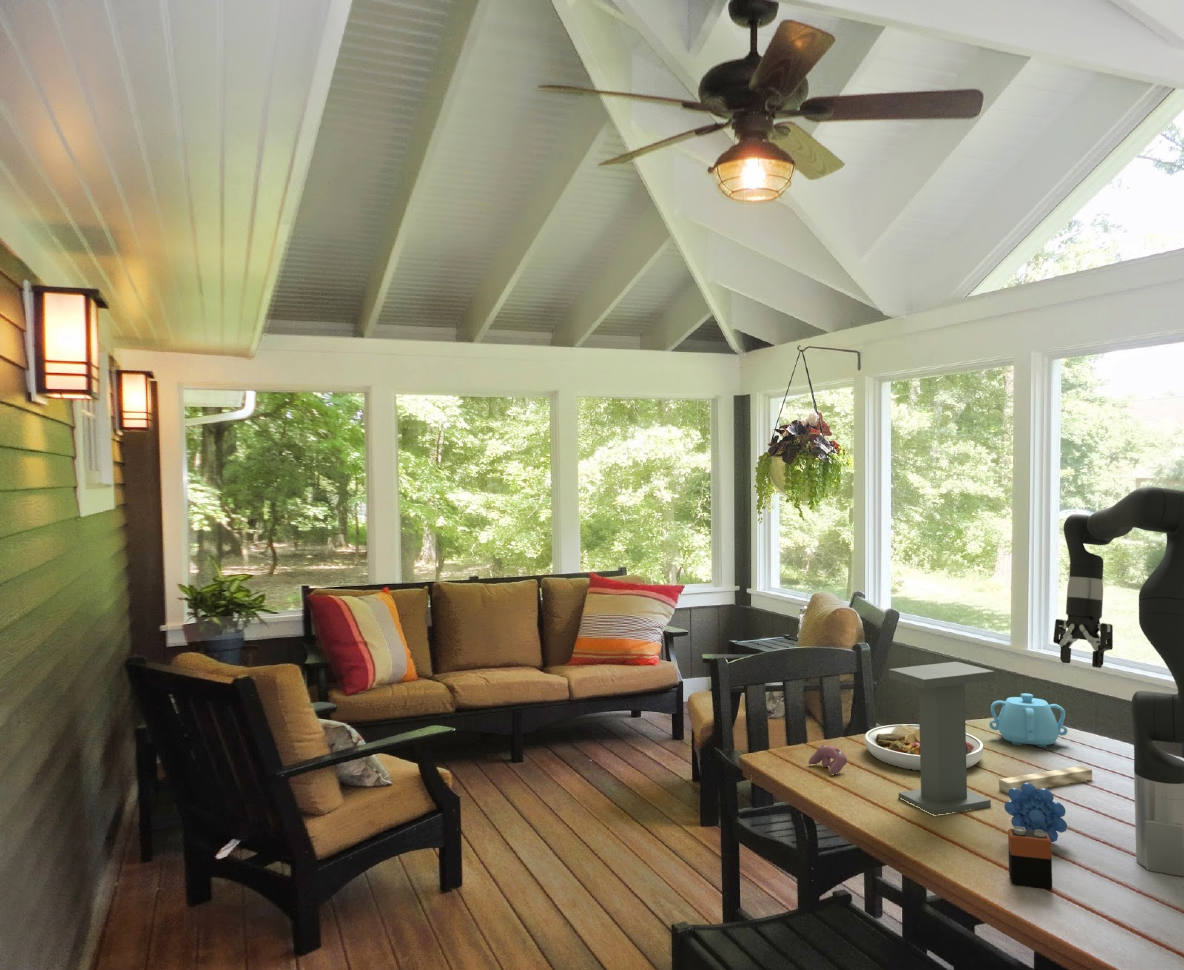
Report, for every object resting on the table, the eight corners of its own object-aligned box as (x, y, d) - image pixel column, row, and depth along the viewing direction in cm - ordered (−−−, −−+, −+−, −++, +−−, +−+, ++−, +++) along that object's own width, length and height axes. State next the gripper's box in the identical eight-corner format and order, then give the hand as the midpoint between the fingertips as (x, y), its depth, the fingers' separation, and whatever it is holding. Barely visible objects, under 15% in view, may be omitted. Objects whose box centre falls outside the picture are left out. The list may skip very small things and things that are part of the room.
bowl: (842, 752, 240) (841, 724, 240) (918, 735, 254) (917, 709, 254) (928, 784, 213) (927, 752, 213) (1008, 763, 227) (1007, 734, 227)
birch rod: (1081, 777, 215) (1081, 765, 215) (1092, 781, 213) (1092, 769, 213) (999, 791, 207) (998, 779, 207) (1008, 795, 204) (1008, 783, 204)
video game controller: (843, 780, 221) (852, 754, 222) (830, 775, 219) (839, 748, 220) (818, 769, 230) (827, 744, 231) (806, 764, 228) (815, 738, 229)
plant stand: (959, 788, 209) (956, 661, 209) (997, 805, 198) (994, 671, 198) (891, 800, 202) (888, 669, 202) (927, 818, 191) (924, 679, 191)
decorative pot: (1030, 731, 255) (1029, 685, 255) (1074, 746, 239) (1072, 698, 239) (984, 736, 250) (983, 690, 250) (1026, 752, 235) (1024, 703, 235)
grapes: (1006, 845, 176) (1005, 787, 176) (1004, 832, 182) (1002, 776, 182) (1070, 853, 172) (1069, 793, 172) (1066, 840, 178) (1064, 782, 178)
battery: (1008, 875, 163) (1007, 822, 163) (1048, 880, 161) (1047, 826, 161) (1011, 885, 159) (1010, 831, 159) (1052, 890, 156) (1051, 836, 156)
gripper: (1123, 600, 201) (1119, 670, 199) (1071, 597, 214) (1067, 662, 212) (1099, 597, 198) (1095, 667, 196) (1048, 594, 212) (1044, 660, 210)
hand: (1080, 665), depth 204 cm, fingers open, 8 cm apart
